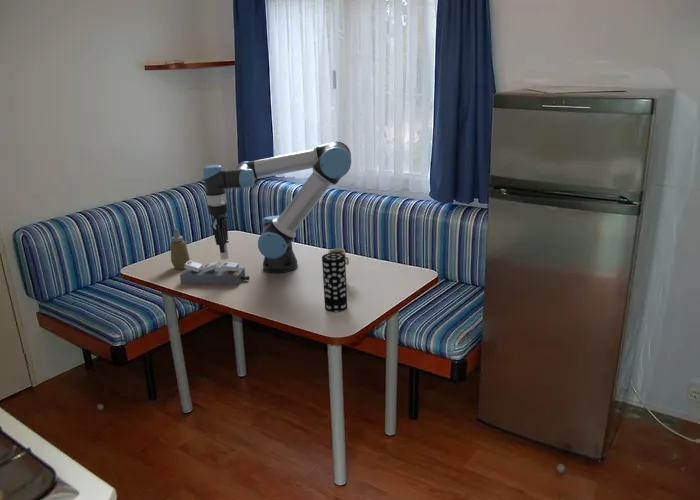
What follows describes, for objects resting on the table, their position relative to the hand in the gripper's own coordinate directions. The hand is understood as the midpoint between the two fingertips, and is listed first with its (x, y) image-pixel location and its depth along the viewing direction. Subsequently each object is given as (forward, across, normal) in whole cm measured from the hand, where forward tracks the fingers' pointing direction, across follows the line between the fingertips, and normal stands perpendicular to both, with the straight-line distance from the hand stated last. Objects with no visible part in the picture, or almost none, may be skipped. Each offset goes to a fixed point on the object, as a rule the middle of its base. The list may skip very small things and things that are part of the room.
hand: (224, 258), depth 242 cm
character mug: (+11, -1, +47) cm, 48 cm away
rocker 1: (+3, 0, -14) cm, 14 cm away
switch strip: (+10, 0, -5) cm, 11 cm away
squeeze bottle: (+9, -14, -26) cm, 31 cm away
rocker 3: (+3, 0, +2) cm, 4 cm away
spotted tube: (+11, +24, +50) cm, 56 cm away
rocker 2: (+3, 0, -6) cm, 7 cm away
